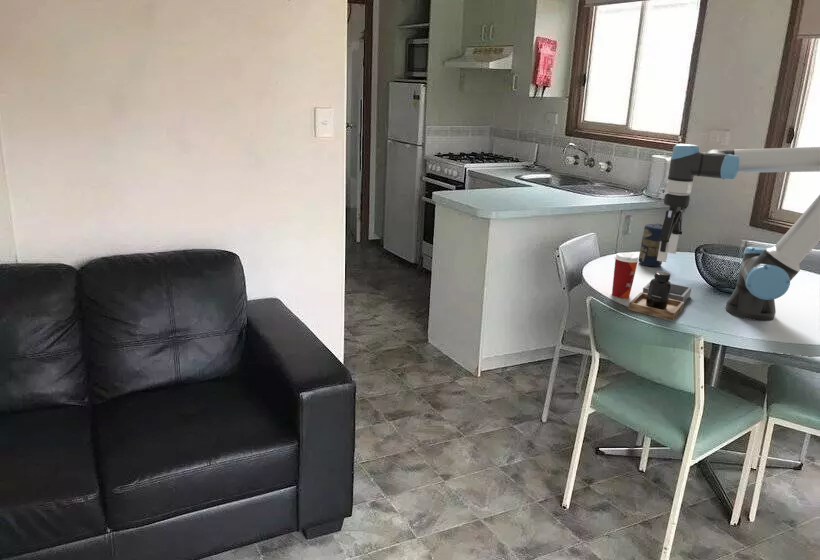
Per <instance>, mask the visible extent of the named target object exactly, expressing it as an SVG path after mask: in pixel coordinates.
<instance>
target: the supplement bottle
mask: <svg viewBox="0 0 820 560" xmlns="http://www.w3.org/2000/svg"><path fill="white" fill-rule="evenodd" d="M653 277H654V278H652V279H651V280H650V281H649V283H650V285H649V290H648V295H647V300H646V305H647V306H649V307H653V308H657V309H661V310H662V309H666V308H667V304H668V299H669V295H670V290H671V283H672V282H671V281H670V280H671V273H670V272H667V271H665V270H664V271H663V270H657V271H655V273H654V276H653Z"/></svg>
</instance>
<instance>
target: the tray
mask: <svg viewBox="0 0 820 560" xmlns="http://www.w3.org/2000/svg"><path fill="white" fill-rule="evenodd" d="M647 295H648V294H647V293H643V291H642V292H640V293H638V294H637V295H636V296H635V297H634V298H632V299H631V300H630V301H629V302H628V307H627V310H628V311H633V312H636V313H640V314H644V315H648V316H651V317H652V316H653V317H656V318H661V319H664V320H669V321H674V320H675V319H676V318H677V317H678V315H679V314H680V313H681V312H682V311H683V309H684V305H685V303H684V302H682V301H678V300H673V299H668V304H667V308H666V309H662V310H661V309H657V308H653V307H649V306H647V305H646V300H647ZM681 310H682V311H681ZM676 316H677V317H676Z"/></svg>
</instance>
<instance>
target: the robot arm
mask: <svg viewBox="0 0 820 560" xmlns="http://www.w3.org/2000/svg"><path fill="white" fill-rule="evenodd" d="M668 168H669V170H668V177H667V181H665V182H664V184H666V188H665V191H666V193H664V198H663V204H664V205H665V206H668V207H669V209H667V210H666V211H665V216H664V219H663V224H662V225H663V227H662V230H661V234H660V238H658V241H660V246H659V251H658V257H657V261H662V263H667V258H668V254H675V255H676V254H677V248H678V243H679V239H680V235H682V234H683V231H682V224H683V212H684V208H687V207H689V205H690V199H691V196H690V194H691V193H692V189H693V183H694V177H702V178H703V177H704V178H713V179H720V180H721V179H722V180H734V179H735V178H736V177H737V175H738V174H740V173H743V174H744V173H807V172H808V173H812V172H816V173H817V172H820V146H813V147H812V146H810V147H809V146H807V147H806V146H805V147H777V148H776V147H775V148H771V147H770V148H769V147H768V148H767V147H766V148H744V149H743V148H742V149H741V148H740V149H739V148H738V149H720V148H714V149H713V148H712V149H711V150H709V151H707V152H702V151H700V148H699V145H696V144H690V143H677V144H675V145H674V146H673V149H672V153H671V158H670V163H669V167H668ZM819 242H820V194H819V195H818V196H817V197H816V198H815V199H814V201H813V202H812V203H811V204H810V205H809V206H808V207H807V209H806V210H805V211H804V212H803V213H802V214H801V215H800V217H799V218H798V219H797V220H796V221H795V222H794V224H793V225H792V226H791V227H790V228H789V229H788V230H787V231H786V233H784V235H783V236H782V237H781V238H780V239H779V241H777V243H776V244H775V245H774V246H771V247H761V246H747V247H745V249H744V251H743V253H742V259H741V260H742V261H741V264H740V268H739V273H738V277H737V282H736V286H735V288H734V290H733V292H732V294H731V295H730V296H729V298H728V299H727V301H726V304H725V310H726V312H728V313H730V314H732V315H734V316H736V317H739V318H743V319H745V320H746V319H747V320H750V321H758V322H760V321H761V322H763V321H764V322H766V321H767V322H769V321H773V320H774V319H775V318H776V312H777V311H776V303H775V299H776V300H777V299H778V298H779V299H780V298H781V297H783V296H784V295H785V294H786V293H787V292H788V290H789V288H790V285H791V281H792V280H793V279H794V278H795V277H796V276H797V274H798V273H799V272H800V270H801V267H800V263H802V261H803V260H804V259H805V257H807V256H808V255H809V254H810V252H811V251H812V250H813V249H814V248H815V247H816V246H817V245H818V244H819Z"/></svg>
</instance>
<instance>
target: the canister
mask: <svg viewBox="0 0 820 560" xmlns="http://www.w3.org/2000/svg"><path fill="white" fill-rule="evenodd" d="M662 227H663V224H661V223H647V224H645V225H644V227H643V232H642V233H643V234H642V238H641V242H640V249H639V255H638V259H639V262H638V263H639V264H640V265H643V266H647V267H652V268H654V267H657V268H658V267H660V266H662V263H663V262H662V261H657V257H658V251H659V246H660V241H658V238H660V234H661V230H662Z"/></svg>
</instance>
